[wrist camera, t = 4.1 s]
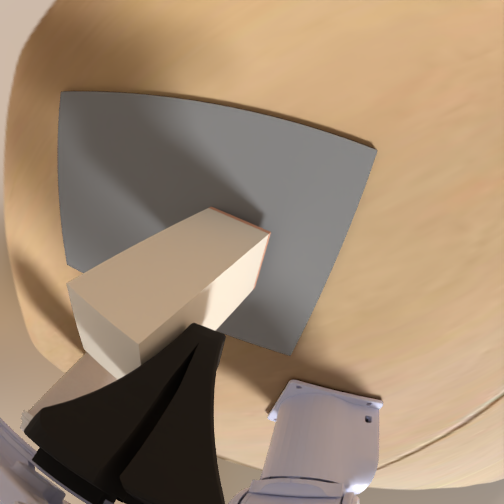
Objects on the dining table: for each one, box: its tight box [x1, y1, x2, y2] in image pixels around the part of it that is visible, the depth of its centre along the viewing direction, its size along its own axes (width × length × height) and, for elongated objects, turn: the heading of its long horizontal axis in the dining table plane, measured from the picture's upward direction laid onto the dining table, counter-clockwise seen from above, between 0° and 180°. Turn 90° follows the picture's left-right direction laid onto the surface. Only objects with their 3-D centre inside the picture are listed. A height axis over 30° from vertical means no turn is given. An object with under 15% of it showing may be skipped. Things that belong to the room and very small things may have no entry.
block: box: [66, 207, 271, 379], centre depth 14 cm, size 4×4×10 cm
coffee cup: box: [20, 352, 118, 431], centre depth 25 cm, size 10×10×15 cm
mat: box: [58, 91, 377, 356], centre depth 19 cm, size 22×16×1 cm
